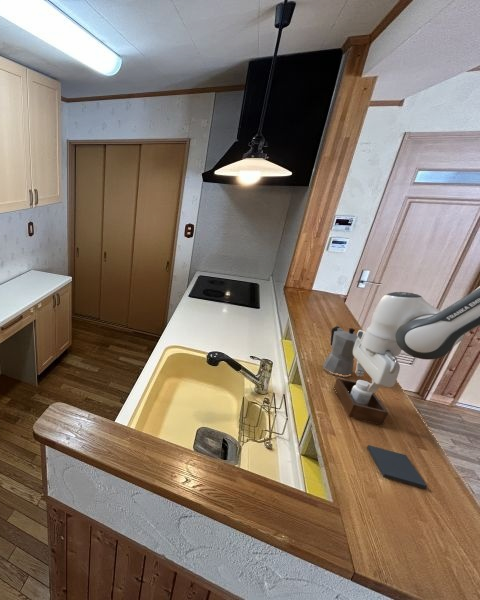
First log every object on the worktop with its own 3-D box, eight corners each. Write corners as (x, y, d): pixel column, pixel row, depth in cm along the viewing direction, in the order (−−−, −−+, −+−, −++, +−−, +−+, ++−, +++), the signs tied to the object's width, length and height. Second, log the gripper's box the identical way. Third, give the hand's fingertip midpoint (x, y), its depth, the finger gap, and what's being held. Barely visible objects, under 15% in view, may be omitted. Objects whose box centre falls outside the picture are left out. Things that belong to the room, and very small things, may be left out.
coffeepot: (361, 382, 116) (380, 338, 110) (334, 380, 117) (351, 335, 111) (334, 360, 130) (349, 319, 124) (310, 358, 131) (323, 317, 125)
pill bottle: (369, 408, 102) (378, 386, 99) (359, 411, 100) (369, 389, 98) (352, 399, 106) (361, 377, 103) (343, 402, 105) (352, 380, 102)
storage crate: (362, 395, 109) (367, 384, 107) (383, 425, 95) (388, 412, 94) (333, 388, 112) (337, 377, 110) (348, 416, 98) (353, 404, 96)
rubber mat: (404, 457, 84) (405, 454, 83) (425, 489, 75) (427, 486, 75) (366, 447, 86) (368, 444, 86) (383, 476, 78) (384, 473, 77)
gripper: (413, 363, 85) (392, 405, 90) (379, 332, 103) (363, 369, 108) (384, 357, 87) (365, 399, 92) (356, 328, 105) (341, 364, 110)
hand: (364, 382), depth 100 cm, fingers open, 8 cm apart
